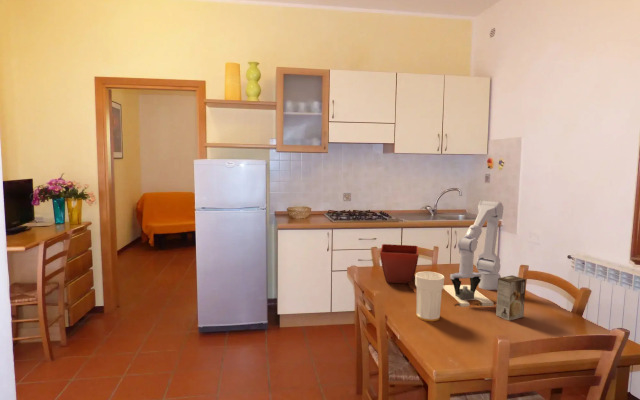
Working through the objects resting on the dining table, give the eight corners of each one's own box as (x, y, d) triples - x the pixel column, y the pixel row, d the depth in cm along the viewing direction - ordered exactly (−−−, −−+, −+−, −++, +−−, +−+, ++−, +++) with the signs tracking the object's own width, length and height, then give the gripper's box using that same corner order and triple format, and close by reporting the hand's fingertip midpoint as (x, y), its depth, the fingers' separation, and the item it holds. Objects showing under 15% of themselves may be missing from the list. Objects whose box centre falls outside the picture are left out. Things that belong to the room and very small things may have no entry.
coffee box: (510, 311, 166) (512, 274, 164) (523, 317, 160) (526, 279, 158) (495, 315, 161) (497, 277, 160) (509, 321, 156) (511, 282, 154)
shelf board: (469, 287, 195) (469, 275, 195) (493, 306, 171) (494, 291, 171) (439, 288, 194) (440, 275, 193) (460, 306, 170) (461, 292, 170)
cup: (438, 325, 151) (440, 281, 150) (409, 318, 157) (411, 276, 155) (445, 315, 161) (447, 274, 159) (418, 309, 167) (420, 269, 165)
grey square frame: (466, 294, 181) (466, 288, 181) (473, 299, 175) (474, 292, 175) (455, 295, 180) (455, 289, 180) (462, 300, 174) (462, 293, 174)
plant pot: (379, 284, 200) (379, 251, 198) (381, 273, 218) (382, 243, 216) (417, 287, 196) (418, 254, 194) (416, 275, 214) (417, 245, 212)
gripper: (475, 261, 181) (474, 289, 183) (447, 262, 178) (445, 291, 180) (485, 265, 174) (483, 294, 176) (455, 267, 171) (453, 296, 173)
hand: (464, 293), depth 177 cm, fingers open, 7 cm apart
